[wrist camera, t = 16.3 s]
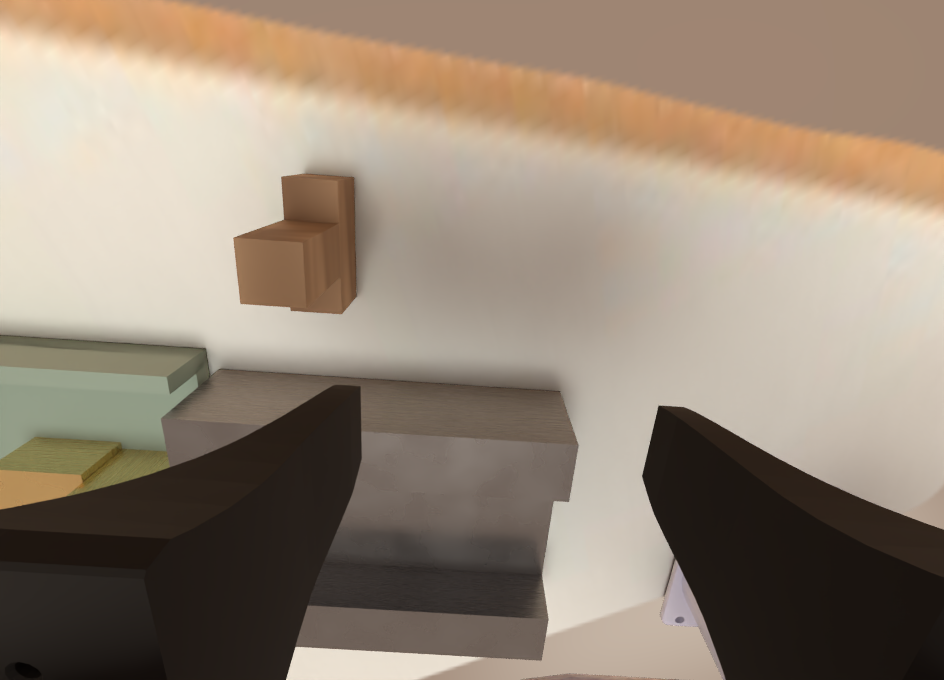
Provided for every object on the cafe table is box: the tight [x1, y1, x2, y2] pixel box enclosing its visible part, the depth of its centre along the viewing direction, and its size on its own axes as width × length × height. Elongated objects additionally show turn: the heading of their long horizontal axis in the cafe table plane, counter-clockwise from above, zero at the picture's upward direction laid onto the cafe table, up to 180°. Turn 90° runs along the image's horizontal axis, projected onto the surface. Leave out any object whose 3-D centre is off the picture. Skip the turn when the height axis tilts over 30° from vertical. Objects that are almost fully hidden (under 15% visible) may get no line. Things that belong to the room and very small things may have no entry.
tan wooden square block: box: [0, 437, 122, 509], centre depth 23 cm, size 4×4×2 cm
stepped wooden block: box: [233, 174, 356, 314], centre depth 17 cm, size 2×5×6 cm, turn 176°
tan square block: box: [67, 449, 170, 496], centre depth 22 cm, size 4×4×2 cm
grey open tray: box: [161, 369, 578, 660], centre depth 23 cm, size 16×12×4 cm
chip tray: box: [0, 335, 209, 459], centre depth 23 cm, size 13×14×3 cm
